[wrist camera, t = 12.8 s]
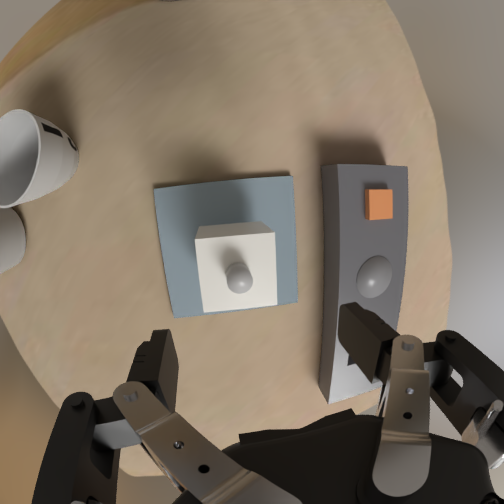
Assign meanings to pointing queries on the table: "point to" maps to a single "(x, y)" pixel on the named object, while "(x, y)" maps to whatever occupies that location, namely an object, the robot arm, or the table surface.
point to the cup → (33, 157)
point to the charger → (236, 266)
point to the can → (11, 239)
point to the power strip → (360, 260)
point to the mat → (223, 212)
